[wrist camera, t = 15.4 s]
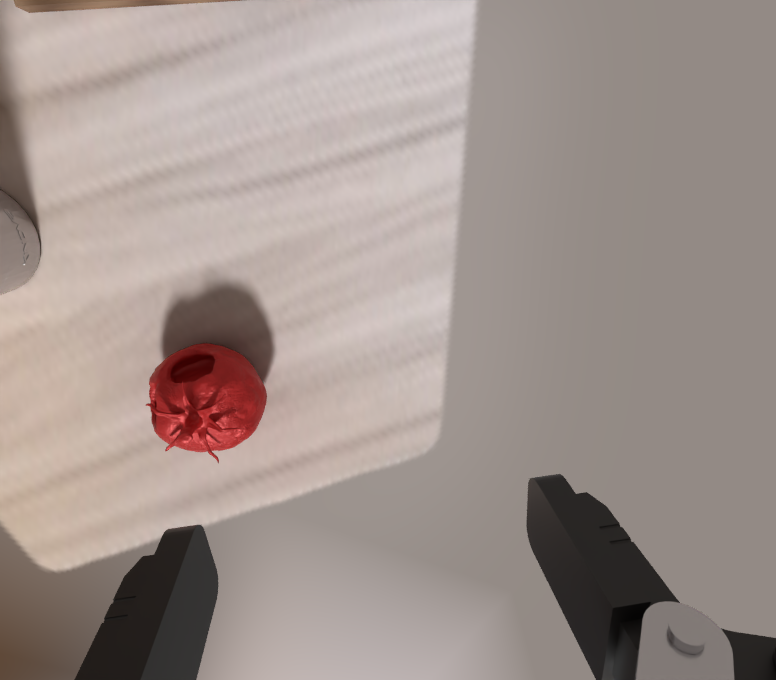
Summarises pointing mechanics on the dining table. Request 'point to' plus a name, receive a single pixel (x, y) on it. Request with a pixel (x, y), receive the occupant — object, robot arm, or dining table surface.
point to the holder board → (95, 4)
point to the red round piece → (206, 399)
